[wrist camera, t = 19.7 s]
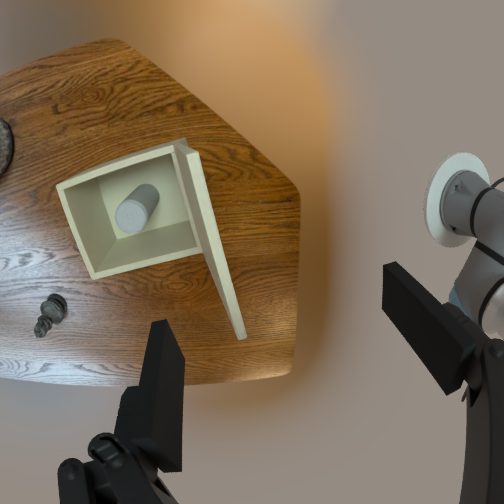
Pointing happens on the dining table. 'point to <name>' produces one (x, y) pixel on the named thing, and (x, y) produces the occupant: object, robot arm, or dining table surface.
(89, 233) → the cream box
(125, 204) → the beverage can
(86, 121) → the dining table surface
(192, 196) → the box lid
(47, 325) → the chess piece
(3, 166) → the planter
